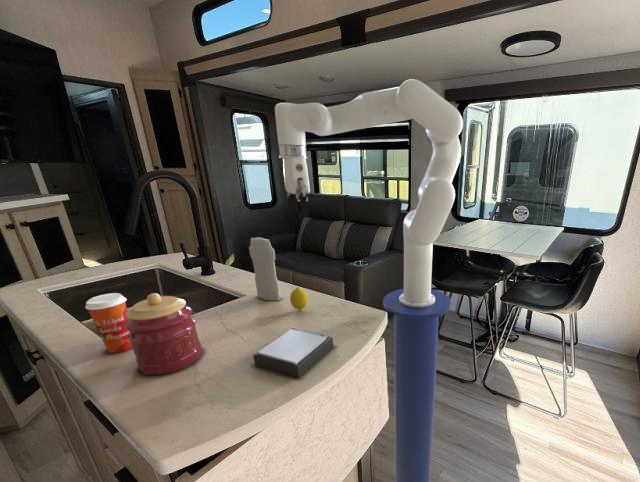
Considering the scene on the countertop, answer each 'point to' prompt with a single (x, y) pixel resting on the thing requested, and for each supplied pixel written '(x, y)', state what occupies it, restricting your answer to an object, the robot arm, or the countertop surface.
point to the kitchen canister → (162, 334)
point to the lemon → (299, 298)
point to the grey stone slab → (264, 269)
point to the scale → (294, 352)
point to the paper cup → (110, 320)
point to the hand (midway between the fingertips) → (298, 213)
